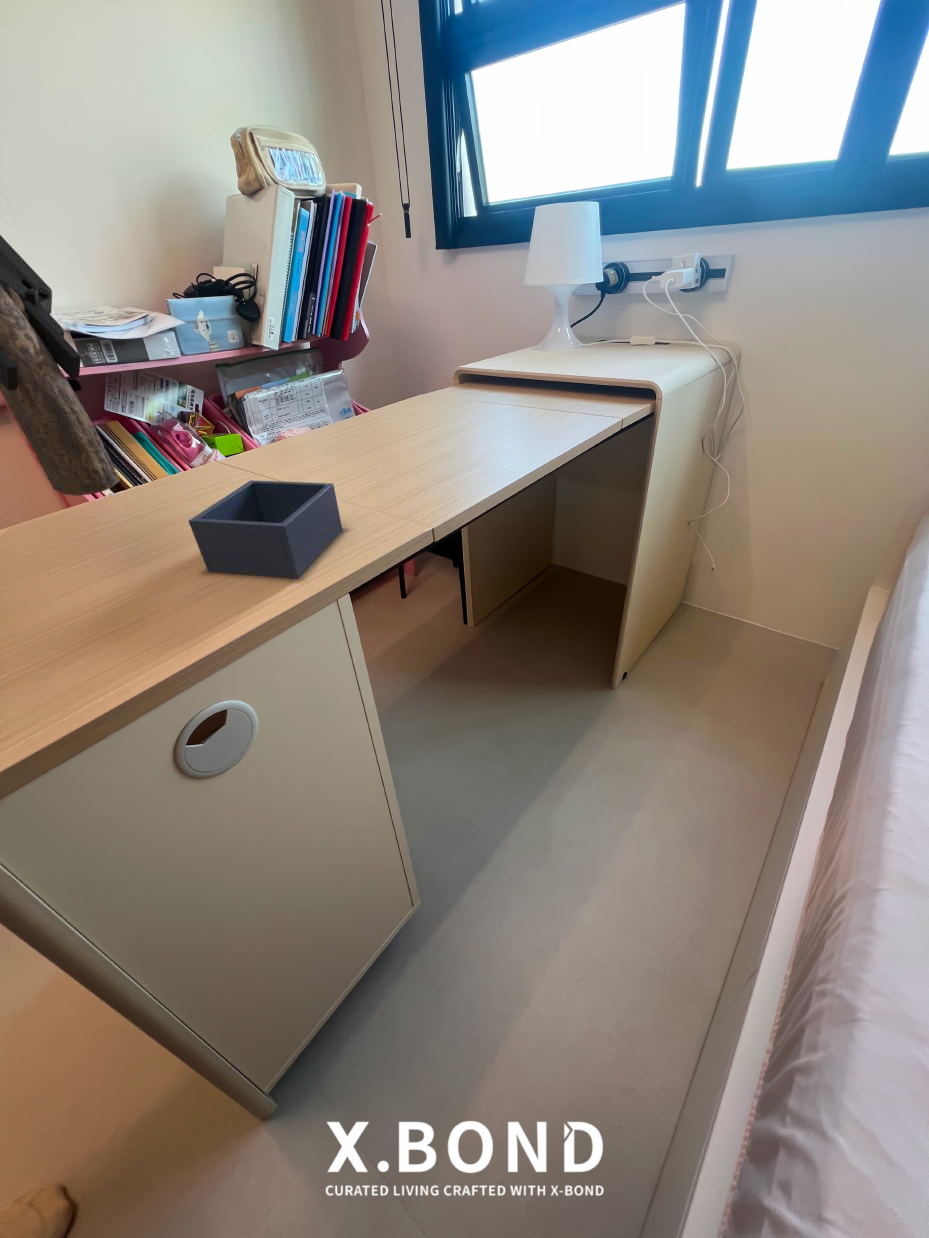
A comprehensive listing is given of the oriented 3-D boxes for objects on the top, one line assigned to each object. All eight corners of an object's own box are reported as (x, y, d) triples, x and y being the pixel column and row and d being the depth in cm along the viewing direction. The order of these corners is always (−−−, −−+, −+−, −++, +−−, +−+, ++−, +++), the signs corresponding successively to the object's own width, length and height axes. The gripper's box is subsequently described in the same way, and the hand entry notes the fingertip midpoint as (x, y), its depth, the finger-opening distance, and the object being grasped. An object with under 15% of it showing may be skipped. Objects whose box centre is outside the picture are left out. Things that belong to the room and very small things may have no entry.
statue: (142, 465, 58) (-14, 181, 42) (105, 497, 53) (-92, 183, 36) (73, 471, 59) (-107, 194, 43) (30, 503, 54) (-197, 198, 37)
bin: (207, 571, 64) (187, 520, 60) (263, 526, 75) (250, 480, 71) (298, 579, 61) (284, 526, 57) (342, 530, 72) (333, 483, 68)
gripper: (-35, 205, 53) (129, 383, 56) (-297, 193, 40) (-66, 424, 43) (-42, 129, 48) (140, 329, 51) (-345, 86, 35) (-78, 357, 38)
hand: (45, 372), depth 47 cm, fingers closed on statue, 5 cm apart
